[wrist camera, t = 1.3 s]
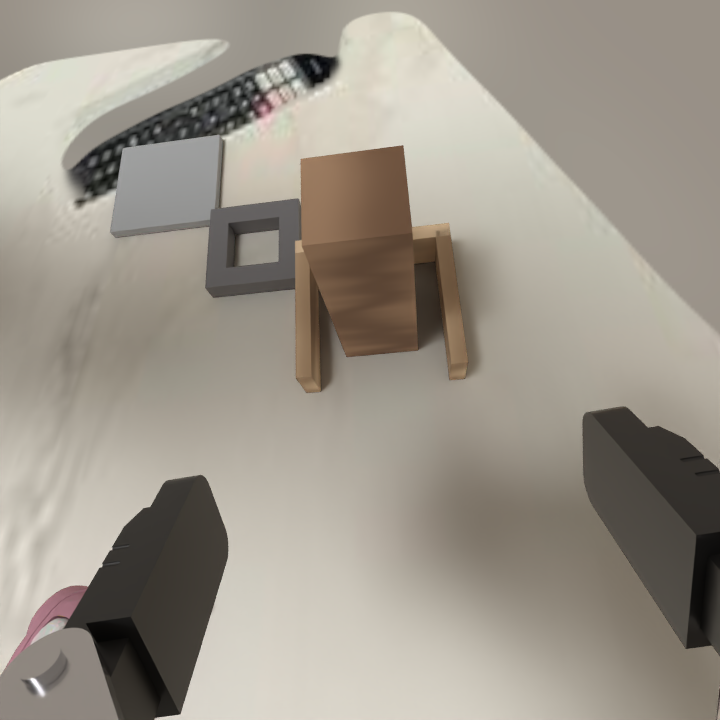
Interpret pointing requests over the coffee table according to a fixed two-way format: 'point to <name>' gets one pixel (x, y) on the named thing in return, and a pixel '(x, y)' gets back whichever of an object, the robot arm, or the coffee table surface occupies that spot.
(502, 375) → the coffee table surface
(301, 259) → the wooden u-shaped bracket
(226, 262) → the grey square frame
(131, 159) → the grey pad
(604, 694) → the coffee table surface
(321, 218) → the walnut block
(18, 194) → the coffee table surface
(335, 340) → the coffee table surface
